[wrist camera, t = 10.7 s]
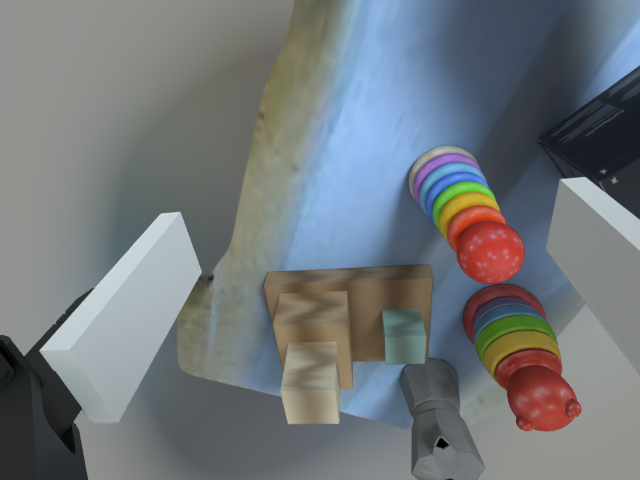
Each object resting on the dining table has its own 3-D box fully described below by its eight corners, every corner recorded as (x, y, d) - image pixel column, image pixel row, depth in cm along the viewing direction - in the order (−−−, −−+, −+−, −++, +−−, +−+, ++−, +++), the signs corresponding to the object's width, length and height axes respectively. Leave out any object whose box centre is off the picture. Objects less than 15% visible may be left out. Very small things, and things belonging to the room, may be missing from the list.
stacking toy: (440, 218, 48) (485, 326, 32) (393, 180, 46) (417, 275, 30) (492, 172, 45) (571, 268, 29) (444, 128, 43) (502, 205, 27)
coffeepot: (391, 353, 61) (406, 470, 46) (452, 343, 59) (489, 463, 44) (407, 412, 69) (424, 530, 54) (462, 406, 67) (496, 526, 52)
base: (428, 264, 52) (442, 310, 44) (424, 344, 60) (435, 394, 52) (267, 272, 54) (254, 316, 47) (283, 348, 62) (274, 396, 54)
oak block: (336, 341, 48) (334, 390, 42) (339, 374, 51) (338, 423, 45) (288, 342, 49) (280, 390, 43) (294, 375, 52) (287, 423, 46)
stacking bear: (473, 344, 59) (515, 462, 44) (448, 299, 55) (486, 412, 40) (546, 320, 56) (620, 439, 41) (526, 269, 52) (600, 381, 37)
